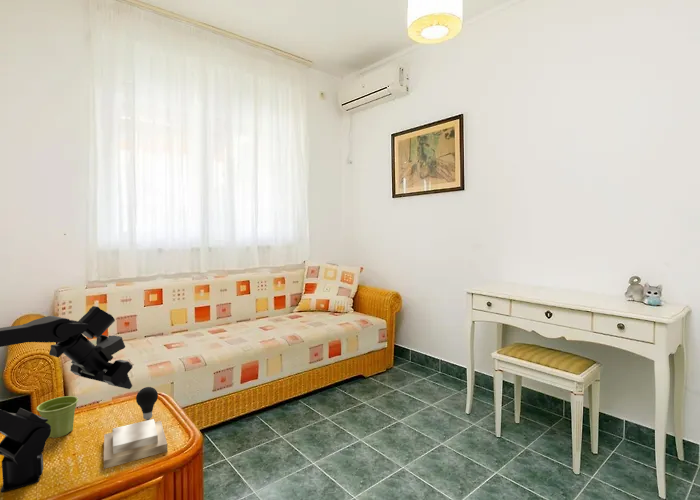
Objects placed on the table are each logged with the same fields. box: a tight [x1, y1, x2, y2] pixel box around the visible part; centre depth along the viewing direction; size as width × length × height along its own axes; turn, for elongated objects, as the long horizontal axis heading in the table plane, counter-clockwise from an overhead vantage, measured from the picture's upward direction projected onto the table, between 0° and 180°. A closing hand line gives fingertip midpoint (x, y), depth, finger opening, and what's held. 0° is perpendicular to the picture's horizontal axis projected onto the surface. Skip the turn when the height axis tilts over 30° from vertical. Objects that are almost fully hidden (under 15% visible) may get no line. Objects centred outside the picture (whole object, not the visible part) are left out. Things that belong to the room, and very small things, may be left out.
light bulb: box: [135, 386, 159, 421], centre depth 117 cm, size 6×6×10 cm
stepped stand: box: [103, 418, 168, 470], centre depth 103 cm, size 14×14×4 cm
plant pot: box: [36, 395, 79, 439], centre depth 110 cm, size 9×9×9 cm
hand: (120, 384), depth 110 cm, fingers open, 9 cm apart
